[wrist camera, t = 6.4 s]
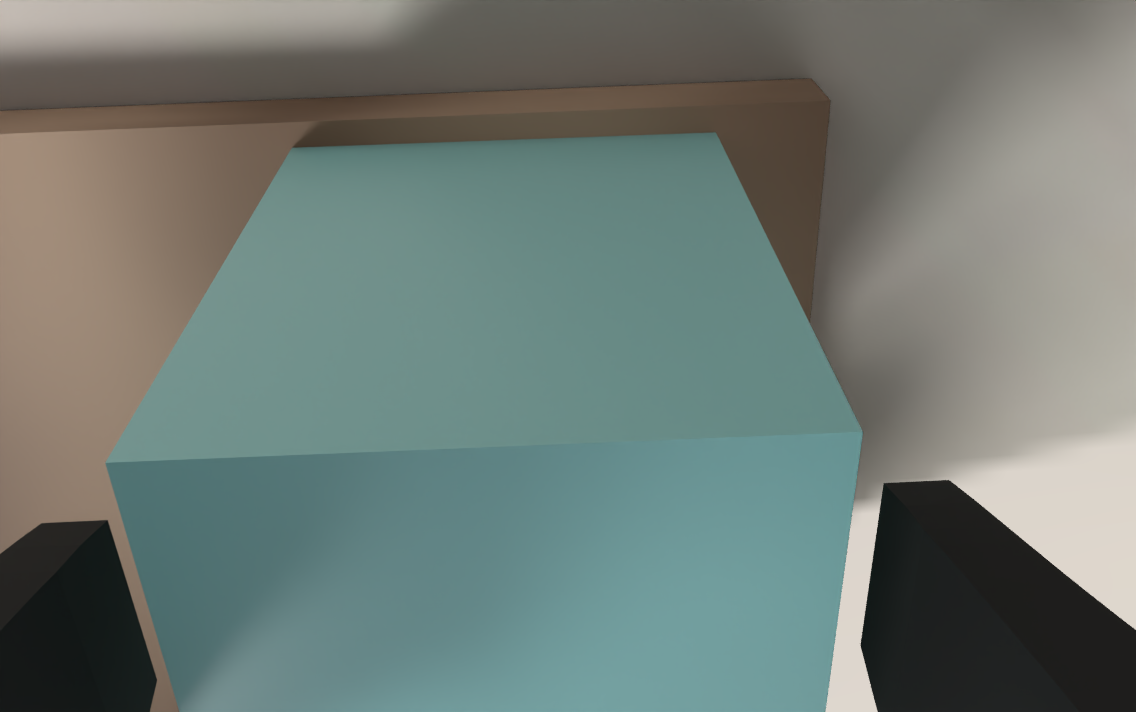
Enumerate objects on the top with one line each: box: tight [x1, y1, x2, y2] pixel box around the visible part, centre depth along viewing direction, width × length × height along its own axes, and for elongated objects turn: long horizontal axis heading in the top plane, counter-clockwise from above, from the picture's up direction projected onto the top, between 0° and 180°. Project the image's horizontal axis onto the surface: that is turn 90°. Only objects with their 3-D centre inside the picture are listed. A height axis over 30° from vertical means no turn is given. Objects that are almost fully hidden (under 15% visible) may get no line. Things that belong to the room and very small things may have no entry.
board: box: [0, 79, 830, 712], centre depth 16 cm, size 15×12×1 cm
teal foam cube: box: [105, 132, 863, 712], centre depth 11 cm, size 5×5×7 cm
